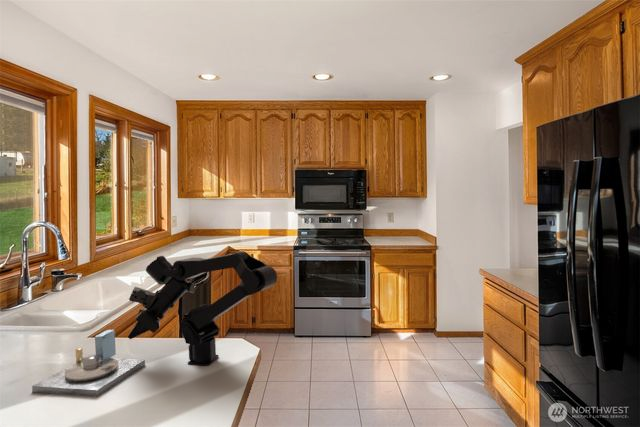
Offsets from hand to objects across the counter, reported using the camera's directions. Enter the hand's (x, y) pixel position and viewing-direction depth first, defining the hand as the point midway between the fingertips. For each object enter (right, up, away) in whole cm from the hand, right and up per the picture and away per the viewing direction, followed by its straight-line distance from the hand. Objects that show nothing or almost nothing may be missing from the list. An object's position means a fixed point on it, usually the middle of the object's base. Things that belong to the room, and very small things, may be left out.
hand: (129, 337), depth 112 cm
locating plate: (-6, -8, -8) cm, 13 cm away
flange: (-5, -6, -7) cm, 11 cm away
